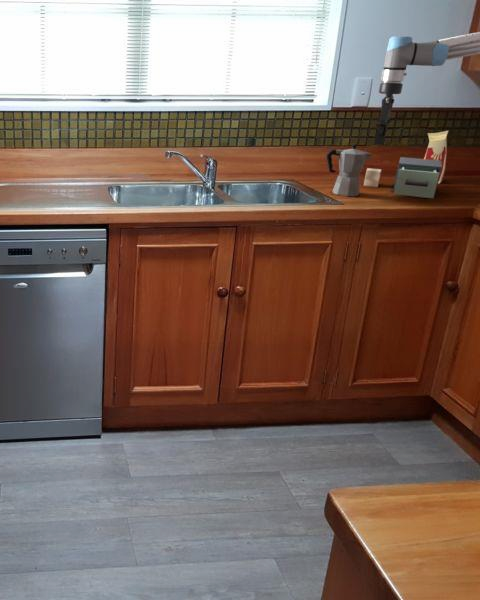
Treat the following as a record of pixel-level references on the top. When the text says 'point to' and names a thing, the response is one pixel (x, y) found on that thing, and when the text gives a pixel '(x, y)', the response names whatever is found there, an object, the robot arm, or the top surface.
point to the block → (372, 177)
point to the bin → (416, 182)
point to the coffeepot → (348, 170)
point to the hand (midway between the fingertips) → (379, 142)
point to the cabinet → (419, 166)
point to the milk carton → (437, 150)
